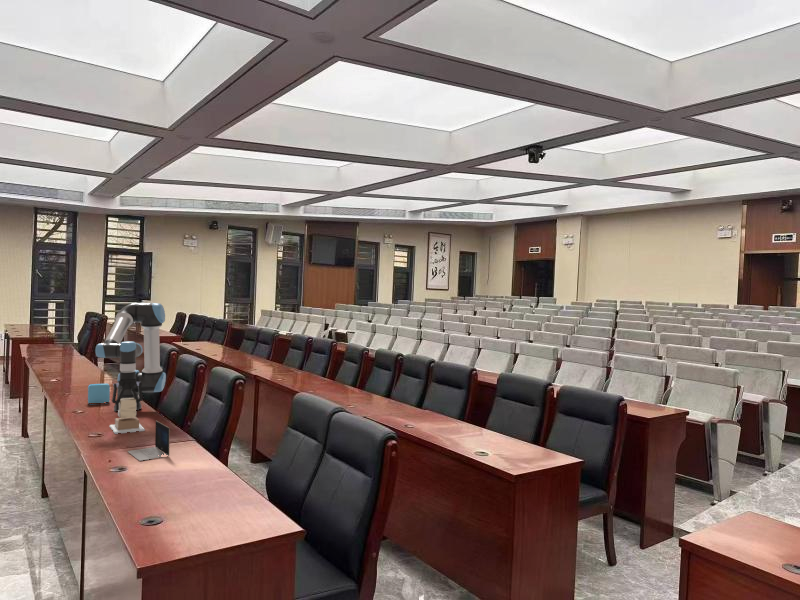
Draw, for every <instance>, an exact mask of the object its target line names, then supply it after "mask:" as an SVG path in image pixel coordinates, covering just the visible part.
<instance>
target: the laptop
mask: <svg viewBox="0 0 800 600" xmlns="http://www.w3.org/2000/svg"><path fill="white" fill-rule="evenodd" d="M170 432H171V430H170V427H169V426H167V425H165V424H164V423H162V422H160V421H158V420H155V442H154V445H155V446H152V447H146V448H140V449H139V448H138V449H132V450H127V453H128V454H130V455H131V456H133V458H135V459H136V460H138V462H139V461H140V462H144V461H143V460H145V461H150V460H149V459H152V460H155V459H154V458H159V457H161V455H162V454H163V455H164V453H165V454H166V455H168V456H170V440H171V439H170V434H171V433H170ZM158 455H159V456H158ZM159 459H160V458H159Z"/></svg>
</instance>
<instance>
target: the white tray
mask: <svg viewBox="0 0 800 600" xmlns="http://www.w3.org/2000/svg"><path fill="white" fill-rule="evenodd" d="M109 428H110V430H111V431H112V430H113V431H112V432H113V433H114V435H119V434H118V433H121V434H127V432H130V433H137V432H136V431H139V432H145V431H146V429H145V428H144V427H143V426H142V424H141V423H140V419H139V418H138V417H137V416H136V417H132V418H122V419H121V418H120V417H117V418H114V424H109Z"/></svg>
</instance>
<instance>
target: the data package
mask: <svg viewBox="0 0 800 600" xmlns="http://www.w3.org/2000/svg"><path fill="white" fill-rule="evenodd" d="M110 390H111V387H110V384H109V383H93V384H92V383H91V384H89V385H88V386H87V403H88V404H89V403H104V402H109V403H110V400H111V399H110V396H111V395H110V393H111V391H110Z"/></svg>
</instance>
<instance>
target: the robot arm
mask: <svg viewBox="0 0 800 600" xmlns="http://www.w3.org/2000/svg"><path fill="white" fill-rule="evenodd" d="M164 308H165V307H164V306H163V305H162V303H157V302H132V303H129V304H127V305H125V306H123V307H122V308H121V309H120V310H119V311H118V312H117V314H116V315H115V318H114V319H115V321H114V323H113V325H112V327H111V329H110V331H109V333H108V335H107V337H106V338H105V341H104V342H103V343H102V342H101V343H98V344H96V346H95V356H96V357H97V358H102V359H113V358H115V359H118V358H119V371H120V372H119V373H118V375H117V380H116V381H117V382H116V383H115V382H114V383H112V386H113V392H112V398H111V402H112V403H113V404H114V406H113V412H116V411H118V412H117V416H118V418H120V403H119V402H120V399H123V398H134V399H136V410H138V411H140V410H139V409H141V408H142V407H143V405H142V402H141V401H143V400H144V399H143V393H160V392H163V390H164V388H165V385H166V380H167V373H166V372H164V371H163V368H162V367H161V363H160V362H161V358H160V357H161V355H160V353H161V352H160V351H161V350H160V348H161V347H160V328H162V326H163V324H164V323H165V321H166V313H165V309H164ZM134 323H138V324H139V323H140V327H141V328H142V329H143V346H142V344H140V343H138V342H135V341H129V340H127V341H123V339H124V337H125V335H126V332H127V330H128V329H129V327H130V326H131V325H133V324H134ZM143 352H144V353H143ZM142 353H143V354H144V355H143V356H144V357H143V358H144V362H143V363H144V364H143V365H144V368H143V369H142V370H141V372H140V370H138V369H137V366H136V365H137V363H136V362H137V361H136V360H137V359H136V358H139V357H140V356H141V355H142ZM142 409H143V408H142ZM142 409H141V410H142Z"/></svg>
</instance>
